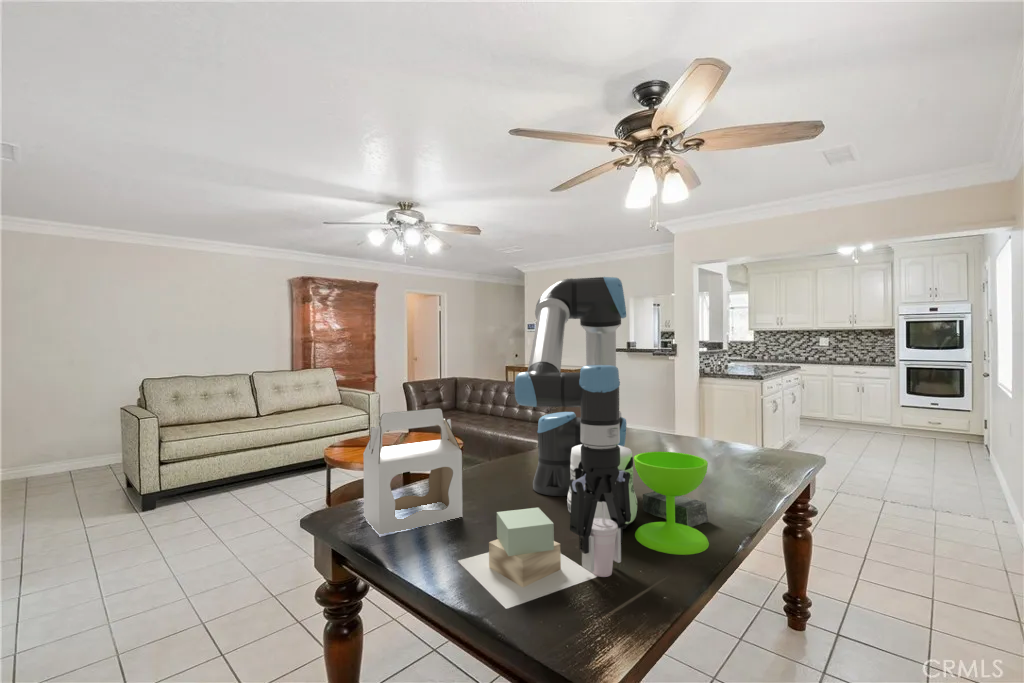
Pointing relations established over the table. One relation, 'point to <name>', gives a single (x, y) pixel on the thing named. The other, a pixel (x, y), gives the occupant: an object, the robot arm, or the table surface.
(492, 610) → the table surface
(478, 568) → the felt mat
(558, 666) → the table surface
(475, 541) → the table surface
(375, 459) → the gable box
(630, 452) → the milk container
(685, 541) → the wineglass
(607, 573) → the smoothie
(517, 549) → the sage block
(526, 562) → the beech tray
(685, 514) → the stone block
